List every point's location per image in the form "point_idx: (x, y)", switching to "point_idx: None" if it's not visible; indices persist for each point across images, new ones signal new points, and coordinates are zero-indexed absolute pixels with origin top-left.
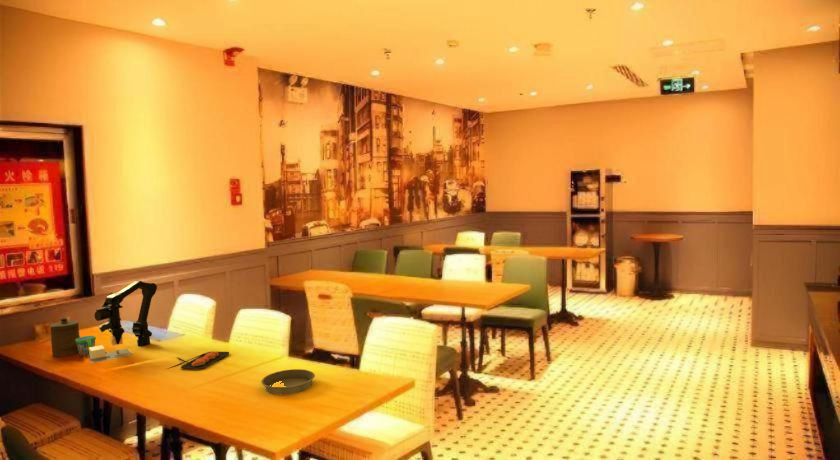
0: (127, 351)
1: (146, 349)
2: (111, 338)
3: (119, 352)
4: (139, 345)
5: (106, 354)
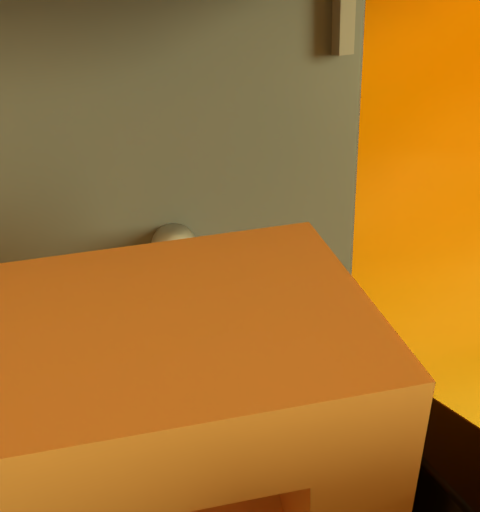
0: None
1: None
2: (30, 435)
3: None
4: None
5: (193, 39)
